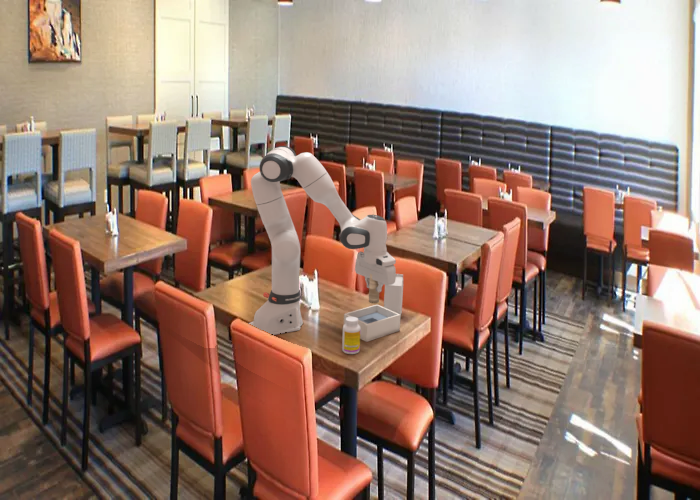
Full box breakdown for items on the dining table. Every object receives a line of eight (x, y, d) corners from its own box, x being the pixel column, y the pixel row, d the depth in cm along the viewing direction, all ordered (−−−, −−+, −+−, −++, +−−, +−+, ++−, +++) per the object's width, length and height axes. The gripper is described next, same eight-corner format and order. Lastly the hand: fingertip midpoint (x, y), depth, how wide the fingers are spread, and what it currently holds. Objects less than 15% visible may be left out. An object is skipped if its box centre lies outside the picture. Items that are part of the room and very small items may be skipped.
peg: (373, 304, 230) (374, 275, 227) (366, 301, 233) (367, 272, 230) (380, 301, 233) (381, 273, 230) (374, 299, 236) (375, 270, 233)
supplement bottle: (362, 353, 216) (363, 321, 212) (345, 355, 214) (346, 323, 210) (356, 346, 222) (357, 314, 218) (339, 348, 220) (340, 316, 216)
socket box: (366, 341, 226) (367, 325, 224) (343, 329, 236) (344, 313, 234) (399, 330, 237) (400, 314, 235) (376, 319, 247) (377, 304, 245)
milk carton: (399, 319, 249) (402, 277, 243) (383, 317, 250) (385, 275, 245) (401, 313, 255) (404, 272, 250) (385, 311, 257) (387, 270, 251)
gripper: (351, 251, 234) (351, 284, 237) (386, 263, 219) (385, 298, 222) (363, 249, 238) (362, 281, 241) (398, 260, 223) (397, 294, 226)
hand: (374, 289), depth 232 cm, fingers closed on peg, 4 cm apart
